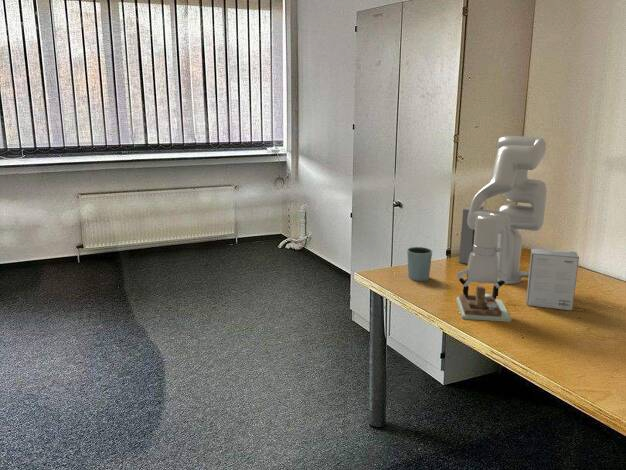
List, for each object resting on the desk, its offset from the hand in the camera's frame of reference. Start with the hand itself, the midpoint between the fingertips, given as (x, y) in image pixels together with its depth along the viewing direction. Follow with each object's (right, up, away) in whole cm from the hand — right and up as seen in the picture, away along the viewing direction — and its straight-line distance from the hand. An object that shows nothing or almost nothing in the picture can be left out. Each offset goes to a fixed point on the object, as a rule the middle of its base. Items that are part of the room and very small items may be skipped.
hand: (480, 297), depth 194 cm
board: (+1, -5, +1) cm, 5 cm away
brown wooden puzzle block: (0, -4, +1) cm, 4 cm away
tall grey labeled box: (+14, +10, +61) cm, 63 cm away
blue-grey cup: (-15, +4, +36) cm, 39 cm away
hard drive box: (+27, -4, +7) cm, 29 cm away
